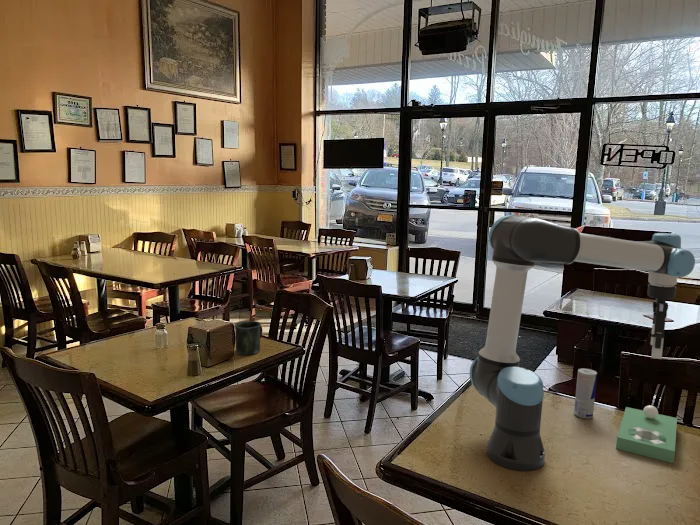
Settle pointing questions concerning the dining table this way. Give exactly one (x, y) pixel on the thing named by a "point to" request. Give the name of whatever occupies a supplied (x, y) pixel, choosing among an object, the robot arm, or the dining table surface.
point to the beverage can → (585, 393)
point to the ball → (650, 412)
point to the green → (647, 435)
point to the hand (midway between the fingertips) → (655, 351)
